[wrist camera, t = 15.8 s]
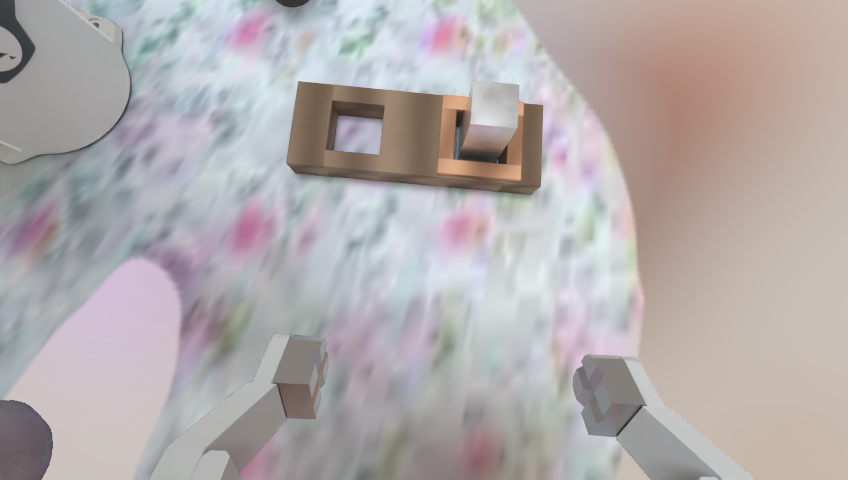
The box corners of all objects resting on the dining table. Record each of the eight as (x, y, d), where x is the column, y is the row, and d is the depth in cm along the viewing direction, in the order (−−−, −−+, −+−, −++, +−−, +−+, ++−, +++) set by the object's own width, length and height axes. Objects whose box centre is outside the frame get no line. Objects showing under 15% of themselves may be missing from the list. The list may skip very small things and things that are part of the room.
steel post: (455, 166, 40) (470, 123, 30) (457, 132, 41) (473, 80, 31) (490, 169, 40) (517, 128, 30) (492, 136, 41) (519, 84, 31)
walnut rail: (295, 173, 39) (284, 160, 36) (306, 97, 41) (296, 77, 37) (530, 194, 40) (542, 184, 36) (533, 118, 41) (545, 102, 38)
